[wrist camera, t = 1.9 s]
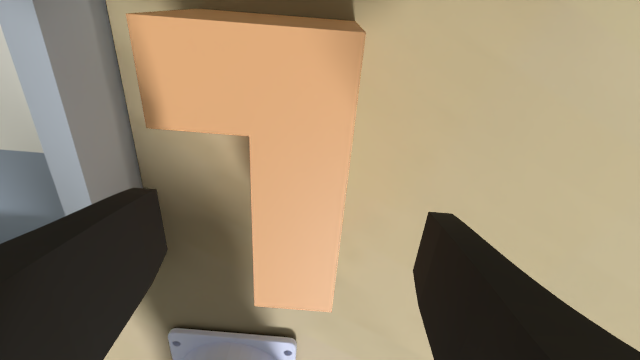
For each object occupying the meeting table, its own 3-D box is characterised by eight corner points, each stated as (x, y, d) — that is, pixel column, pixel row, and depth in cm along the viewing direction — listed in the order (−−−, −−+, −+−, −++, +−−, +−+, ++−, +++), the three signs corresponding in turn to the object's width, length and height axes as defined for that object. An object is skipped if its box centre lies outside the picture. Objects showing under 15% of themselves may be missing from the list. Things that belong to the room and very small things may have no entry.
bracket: (332, 233, 18) (331, 312, 13) (216, 224, 18) (177, 299, 13) (355, 21, 13) (365, 32, 8) (196, 8, 13) (125, 13, 8)
